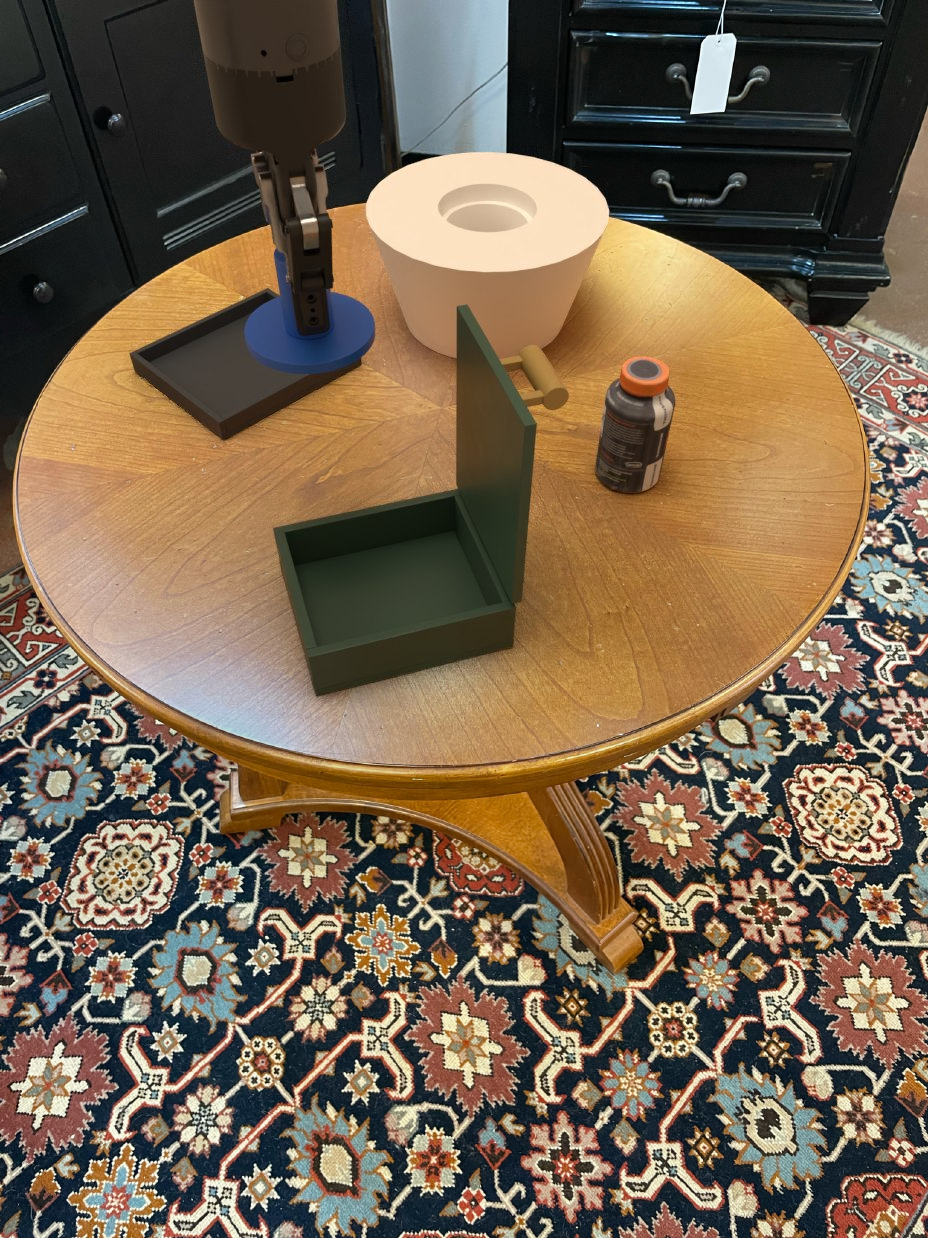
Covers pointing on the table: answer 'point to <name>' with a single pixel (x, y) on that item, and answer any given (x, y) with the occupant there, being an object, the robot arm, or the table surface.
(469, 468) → the chest lid
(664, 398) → the pill bottle
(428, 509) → the green chest
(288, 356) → the blue lid
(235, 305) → the tray
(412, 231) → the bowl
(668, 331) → the table surface
